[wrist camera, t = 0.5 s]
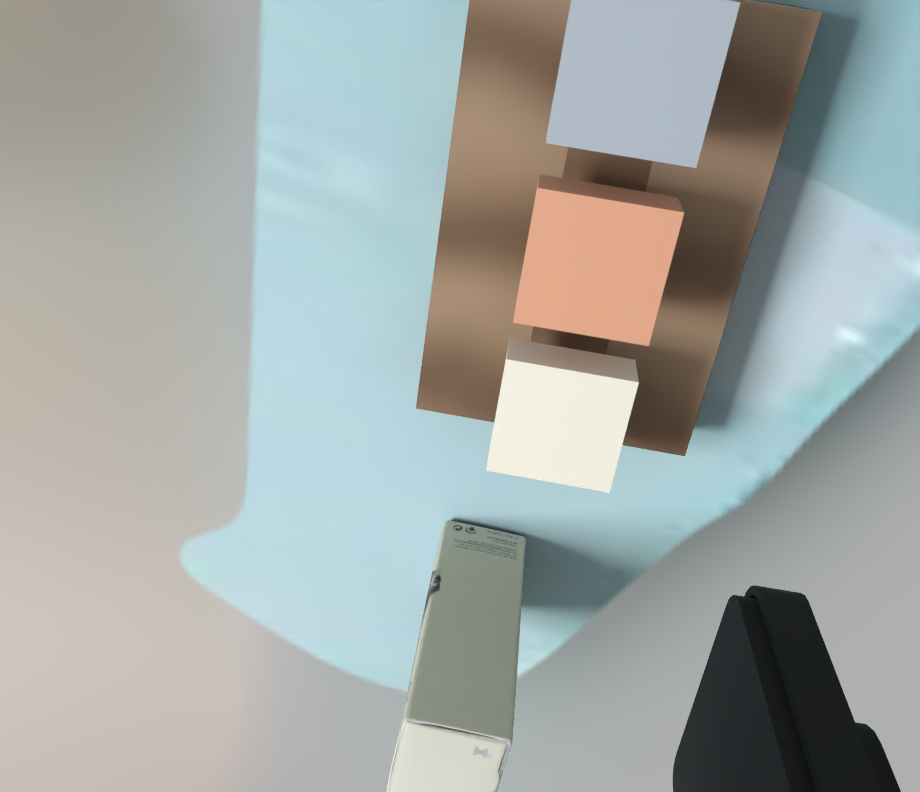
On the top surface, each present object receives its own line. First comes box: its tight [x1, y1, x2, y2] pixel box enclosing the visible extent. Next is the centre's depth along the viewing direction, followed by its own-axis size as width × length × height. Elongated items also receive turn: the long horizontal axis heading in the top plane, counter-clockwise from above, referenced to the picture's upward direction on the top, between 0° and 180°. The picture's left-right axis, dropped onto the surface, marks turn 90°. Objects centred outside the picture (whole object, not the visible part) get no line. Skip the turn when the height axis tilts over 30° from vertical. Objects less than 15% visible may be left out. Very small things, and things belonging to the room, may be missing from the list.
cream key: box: [486, 338, 639, 493], centre depth 35 cm, size 5×5×4 cm
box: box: [387, 521, 526, 792], centre depth 39 cm, size 5×4×13 cm
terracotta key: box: [513, 174, 684, 346], centre depth 32 cm, size 5×5×4 cm
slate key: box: [546, 0, 740, 168], centre depth 29 cm, size 5×5×4 cm
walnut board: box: [416, 0, 822, 456], centre depth 35 cm, size 18×12×2 cm, turn 172°
